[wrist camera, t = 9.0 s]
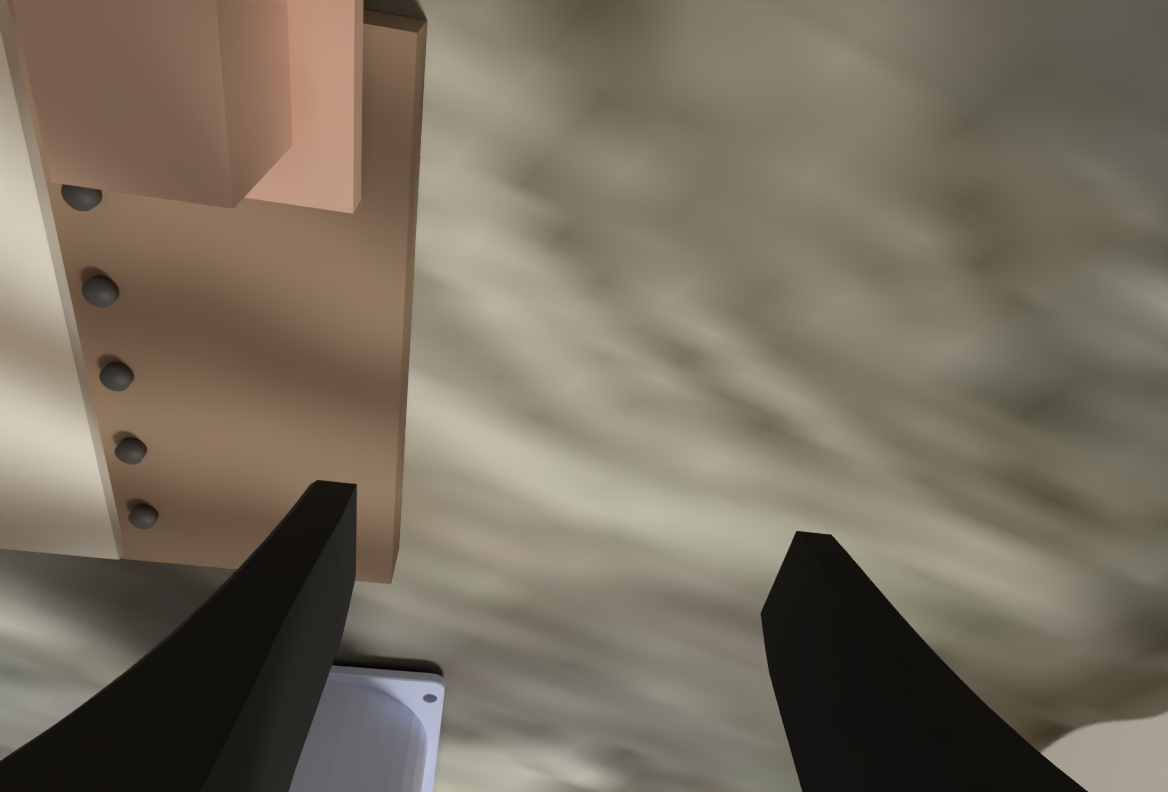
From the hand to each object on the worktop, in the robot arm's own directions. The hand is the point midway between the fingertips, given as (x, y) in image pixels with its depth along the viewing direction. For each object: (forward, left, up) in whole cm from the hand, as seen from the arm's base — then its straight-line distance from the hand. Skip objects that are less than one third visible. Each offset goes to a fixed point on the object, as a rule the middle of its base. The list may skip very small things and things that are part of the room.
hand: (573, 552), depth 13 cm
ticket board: (-2, +11, -9) cm, 15 cm away
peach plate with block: (+5, +8, -8) cm, 12 cm away
